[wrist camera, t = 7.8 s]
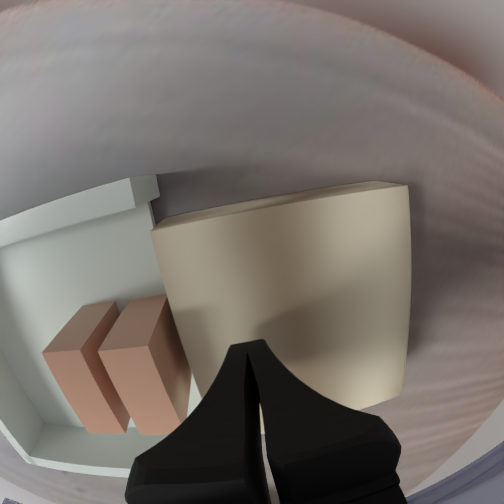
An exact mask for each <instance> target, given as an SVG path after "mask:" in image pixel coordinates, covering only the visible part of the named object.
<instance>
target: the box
mask: <svg viewBox="0 0 504 504" xmlns="http://www.w3.org/2000/svg"><path fill="white" fill-rule="evenodd" d="M158 197H160V193H159V188H158V183H157V178H156V175H147V176H138V177H130V178H126V179H122V180H119V181H115V182H111V183H108V184H105V185H101V186H98V187H94V188H91V189H88V190H85V191H81V192H78V193H75V194H72V195H69V196H66V197H63V198H60V199H57V200H54V201H51V202H48V203H46V204H43V205H40V206H37V207H34V208H32V209H29V210H26V211H24V212H21V213H18V214H16V215H13V216H11V217H8V218H6V219H3V220H1V221H0V430H1V431H2V433H3V434H4V435H5V436H6V438H7V439H8V440H9V442H10V443H11V444H12V445H13V447H14V448H15V449H16V450H17V451H18V453H19V454H20V455H21V456H22V457H23V458H24V460H25V461H26V462H27V463H29V464H33V465H38V466H42V467H47V468H52V469H58V470H64V471H70V472H77V473H84V474H93V475H103V476H115V477H129V474H130V470H131V467H132V465H133V462H134V460H135V457H137V456H139V455H140V454H142V453H143V452H145V451H147V450H148V449H150V448H151V447H153V446H154V445H156V444H157V443H159V442H160V441H161V440H163V439H164V438H165V437H167V436H168V435H169V434H160V435H141V434H140V432H139V430H138V429H137V427H136V425H135V423H134V422H133V420H132V418H131V417H130V421H129V424H128V427H127V431H126V434H109V433H88V431H87V430H86V428H85V427H84V425H83V424H82V422H81V421H80V419H79V418H78V416H77V415H76V413H75V412H74V410H73V409H72V407H71V405H70V404H69V402H68V400H67V399H66V397H65V395H64V394H63V392H62V390H61V389H60V387H59V385H58V383H57V381H56V380H55V378H54V376H53V374H52V372H51V370H50V369H49V367H48V365H47V363H46V361H45V359H44V357H43V355H42V351H43V350H44V349H45V348H46V347H47V346H48V344H49V343H50V342H51V341H52V340H53V338H54V337H55V336H56V335H57V334H58V333H59V331H60V330H61V329H62V328H63V327H64V326H65V325H66V323H67V322H68V321H69V320H70V319H71V318H72V317H73V315H74V314H75V313H76V312H77V311H78V310H79V309H80V308H81V307H82V306H85V305H91V304H97V303H103V302H109V301H116V304H117V307H118V310H119V312H120V314H121V313H122V311H123V310H124V308H125V306H126V305H127V303H128V302H129V300H135V299H141V298H147V297H153V296H159V295H164V294H166V291H165V287H164V284H163V280H162V277H161V273H160V269H159V266H158V262H157V258H156V254H155V250H154V247H153V243H152V239H151V235H150V231H151V230H152V229H153V228H154V227H155V226H156V224H155V220H154V215H153V211H152V207H151V202H150V201H151V200H153V199H155V198H158ZM201 400H202V398H201V396H200V393H199V390H198V388H197V385H196V382H195V380H194V377H193V374H192V378H191V386H190V395H189V404H188V413H187V417H188V416H189V415H190V414H191V413H192V412H193V410H194V409H195V408H196V407H197V405H198V404H199V403H200V401H201Z"/></svg>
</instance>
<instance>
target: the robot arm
mask: <svg viewBox="0 0 504 504" xmlns="http://www.w3.org/2000/svg"><path fill="white" fill-rule="evenodd" d="M260 406H261V410H262V416H263V424H264V432H265V441H266V451H267V458H268V462H269V465H270V469H271V472H272V475H273V479H274V482H275V486H276V489H277V492H278V496H279V501H280V504H504V441H503V442H502V443H500V444H499V445H498V446H496V447H495V448H493V449H492V450H490V451H489V452H488V453H486V454H484V455H483V456H481V457H480V458H479V459H477V460H475V461H474V462H472V463H471V464H469V465H467V466H466V467H464V468H462V469H461V470H459V471H457V472H455V473H454V474H452V475H450V476H448V477H446V478H445V479H443V480H441V481H439V482H437V483H435V484H433V485H431V486H429V487H427V488H425V489H423V490H421V491H419V492H417V493H415V494H412V495H410V496H408V497H406V498H405V496H404V494H403V492H402V490H401V488H400V486H399V483H400V479H399V477H398V475H397V473H396V471H395V470H396V467H397V464H398V461H399V457H400V454H401V445H400V443H399V441H398V439H397V437H396V436H395V434H394V433H393V431H392V430H391V429H390V428H389V427H388V425H387V424H386V423H385V422H384V421H383V420H382V419H381V418H380V417H379V416H376V415H372V414H368V413H364V412H361V411H357V410H354V409H351V408H349V407H346V406H343V405H341V404H339V403H337V402H335V401H333V400H331V399H329V398H327V397H325V396H323V395H321V394H320V393H318V392H317V391H315V390H313V389H312V388H310V387H309V386H308V385H306V384H305V383H304V382H302V381H301V380H300V379H298V378H297V377H296V376H295V375H294V374H293V373H292V372H290V371H289V370H288V369H287V368H286V367H285V366H284V365H283V363H282V362H281V361H280V360H279V359H278V358H277V357H276V356H275V354H274V353H273V352H272V351H271V349H270V348H269V346H268V344H267V343H266V341H265V340H264V339H258V340H253V341H248V342H243V343H237V344H232V345H230V346H229V348H228V351H227V354H226V356H225V359H224V361H223V363H222V366H221V368H220V370H219V372H218V374H217V376H216V378H215V379H214V381H213V383H212V385H211V386H210V388H209V390H208V391H207V393H206V394H205V396H204V397H203V399H202V400H201V401H200V403H199V404H198V405H197V407H196V408H195V409H194V410H193V412H192V413H191V414H190V415H189V416H188V417H187V418H186V419H185V420H184V421H183V422H182V423H181V424H180V425H179V426H178V427H177V428H176V429H175V430H174V431H173V432H171V433H170V434H169V435H168V436H167V437H165V438H164V439H163V440H161V441H160V442H159V443H157V444H156V445H154V446H153V447H151V448H150V449H148V450H147V451H145V452H143V453H142V454H140V455H139V456H137V457H135V460H134V462H133V465H132V467H131V470H130V474H129V478H128V482H127V487H126V491H125V500H126V502H127V503H128V504H271V500H270V495H269V489H268V484H267V478H266V473H265V467H264V461H263V454H262V441H261V421H260ZM2 504H21V503H19V502H16V501H13V500H10V499H8V498H5V499H4V501H3V503H2Z"/></svg>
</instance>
